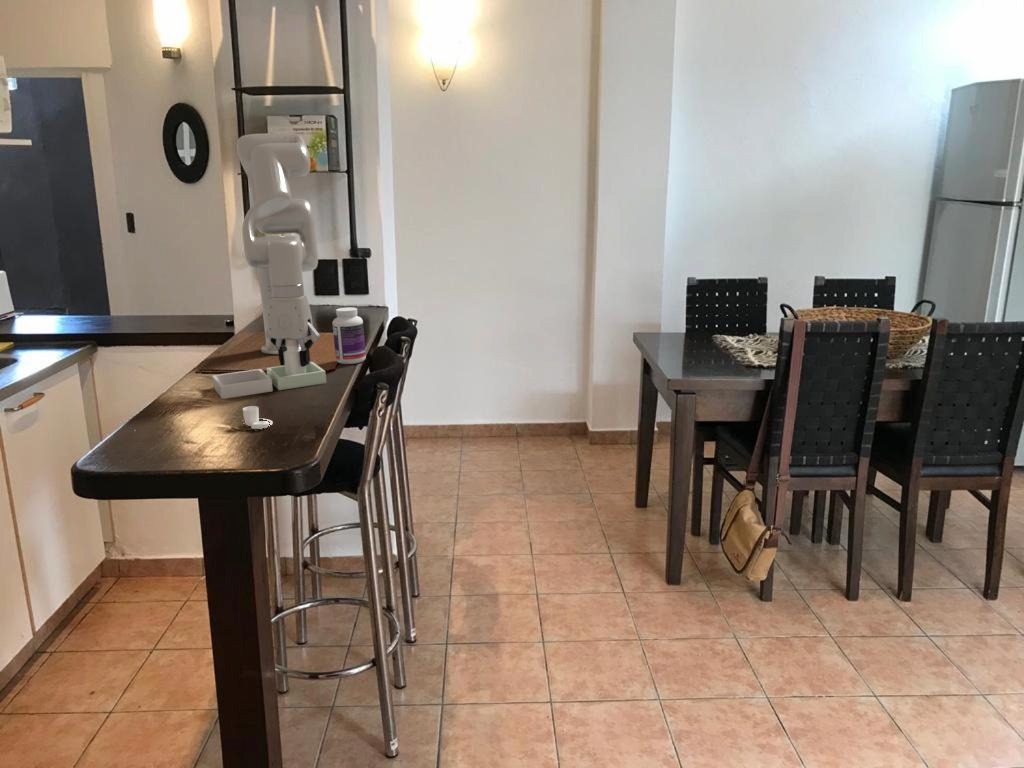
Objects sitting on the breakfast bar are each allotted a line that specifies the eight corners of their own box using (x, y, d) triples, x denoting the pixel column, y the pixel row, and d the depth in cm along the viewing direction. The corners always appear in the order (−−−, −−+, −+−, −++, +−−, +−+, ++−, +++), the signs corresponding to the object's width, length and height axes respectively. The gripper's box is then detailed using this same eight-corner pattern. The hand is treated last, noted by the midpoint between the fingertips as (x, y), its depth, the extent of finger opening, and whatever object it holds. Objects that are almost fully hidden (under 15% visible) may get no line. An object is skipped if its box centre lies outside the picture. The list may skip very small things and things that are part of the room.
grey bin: (213, 387, 197) (212, 375, 196) (262, 380, 202) (260, 368, 201) (222, 398, 187) (220, 386, 186) (272, 391, 192) (271, 379, 192)
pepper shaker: (307, 375, 200) (303, 337, 198) (293, 378, 198) (289, 340, 195) (298, 372, 203) (295, 335, 200) (284, 375, 200) (280, 338, 198)
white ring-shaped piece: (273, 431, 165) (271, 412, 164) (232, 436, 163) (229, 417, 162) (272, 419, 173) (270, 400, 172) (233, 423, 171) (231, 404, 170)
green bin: (267, 379, 203) (266, 367, 202) (313, 372, 208) (312, 361, 207) (278, 390, 193) (277, 378, 192) (326, 383, 198) (325, 371, 198)
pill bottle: (372, 359, 221) (368, 307, 217) (354, 366, 214) (350, 312, 210) (347, 357, 224) (343, 305, 220) (329, 363, 217) (325, 310, 213)
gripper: (247, 293, 194) (256, 366, 199) (311, 294, 189) (318, 370, 194) (265, 288, 201) (273, 359, 205) (327, 289, 196) (333, 362, 201)
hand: (295, 363), depth 200 cm, fingers closed on pepper shaker, 5 cm apart
